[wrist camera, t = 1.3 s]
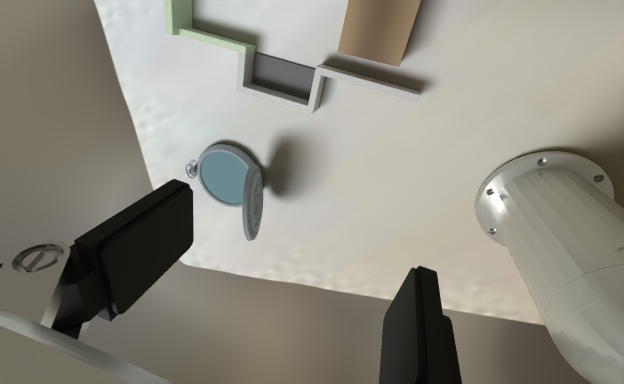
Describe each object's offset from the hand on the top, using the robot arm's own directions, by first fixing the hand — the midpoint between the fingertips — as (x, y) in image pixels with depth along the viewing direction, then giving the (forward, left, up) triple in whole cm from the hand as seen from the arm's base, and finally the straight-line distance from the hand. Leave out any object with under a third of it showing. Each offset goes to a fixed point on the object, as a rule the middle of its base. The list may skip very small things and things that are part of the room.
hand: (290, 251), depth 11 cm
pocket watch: (+15, +15, -26) cm, 34 cm away
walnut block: (+1, -8, -26) cm, 27 cm away
